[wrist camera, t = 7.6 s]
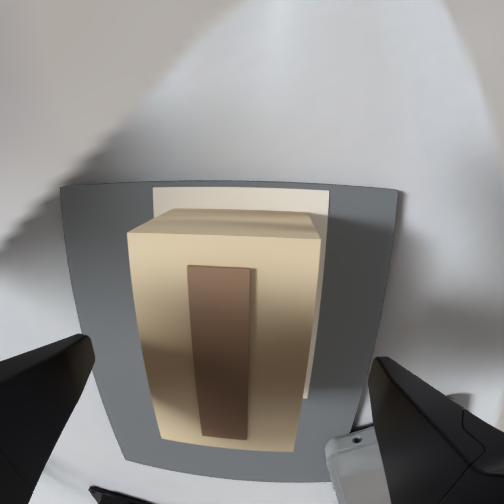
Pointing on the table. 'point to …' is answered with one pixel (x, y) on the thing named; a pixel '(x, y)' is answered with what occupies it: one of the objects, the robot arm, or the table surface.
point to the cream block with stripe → (226, 322)
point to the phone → (357, 468)
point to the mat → (324, 323)
